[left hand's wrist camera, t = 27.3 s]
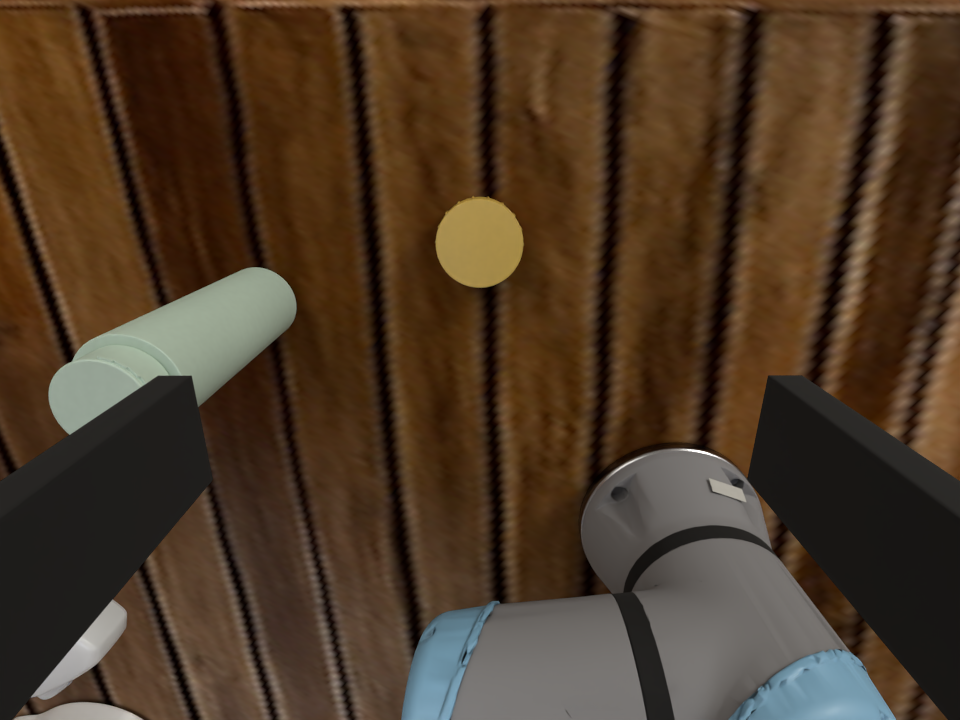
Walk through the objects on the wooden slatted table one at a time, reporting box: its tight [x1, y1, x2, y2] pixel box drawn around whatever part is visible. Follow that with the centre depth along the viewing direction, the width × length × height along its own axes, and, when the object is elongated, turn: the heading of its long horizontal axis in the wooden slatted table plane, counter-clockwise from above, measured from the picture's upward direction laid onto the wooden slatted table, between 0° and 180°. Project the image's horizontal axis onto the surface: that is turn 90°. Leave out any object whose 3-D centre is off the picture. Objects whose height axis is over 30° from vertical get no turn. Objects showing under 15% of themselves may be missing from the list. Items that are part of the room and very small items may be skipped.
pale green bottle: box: [49, 267, 296, 435], centre depth 32 cm, size 6×6×18 cm
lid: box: [435, 196, 524, 288], centre depth 38 cm, size 6×6×2 cm
